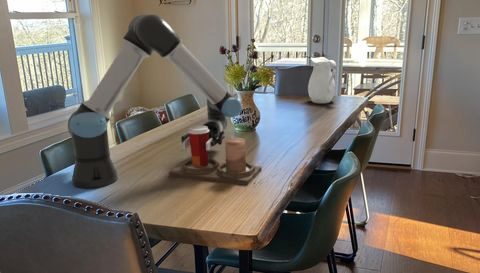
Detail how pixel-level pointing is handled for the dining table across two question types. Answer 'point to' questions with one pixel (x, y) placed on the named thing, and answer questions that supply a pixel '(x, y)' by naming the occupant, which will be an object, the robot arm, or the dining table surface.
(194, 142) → the paper cup
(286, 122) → the dining table surface
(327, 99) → the pitcher
